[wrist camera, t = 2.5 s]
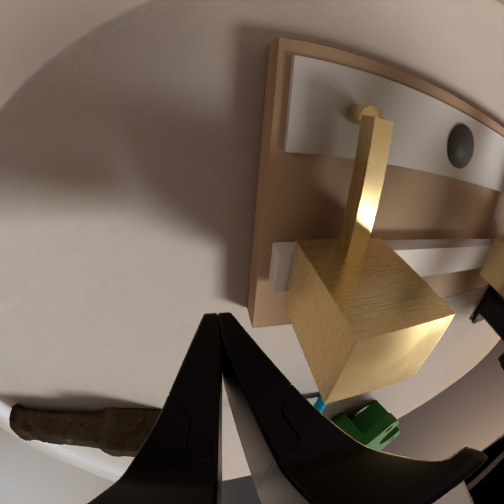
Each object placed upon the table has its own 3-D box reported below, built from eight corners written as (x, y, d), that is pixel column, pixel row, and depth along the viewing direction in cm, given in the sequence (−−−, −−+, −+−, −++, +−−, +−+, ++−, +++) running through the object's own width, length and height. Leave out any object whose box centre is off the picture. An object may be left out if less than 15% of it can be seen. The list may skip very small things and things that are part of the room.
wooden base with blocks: (519, 145, 13) (585, 180, 7) (478, 276, 19) (526, 326, 13) (268, 44, 9) (382, -20, 2) (247, 308, 15) (282, 434, 9)
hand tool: (33, 416, 20) (28, 449, 16) (12, 398, 17) (4, 433, 14) (177, 418, 22) (180, 462, 18) (161, 400, 19) (162, 450, 15)
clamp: (362, 392, 35) (397, 432, 30) (330, 418, 34) (365, 458, 29) (372, 389, 25) (419, 442, 20) (329, 425, 24) (376, 479, 19)
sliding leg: (397, 114, 9) (514, 151, 4) (355, 289, 13) (414, 375, 8) (307, 93, 8) (426, 104, 3) (280, 296, 12) (324, 403, 8)
